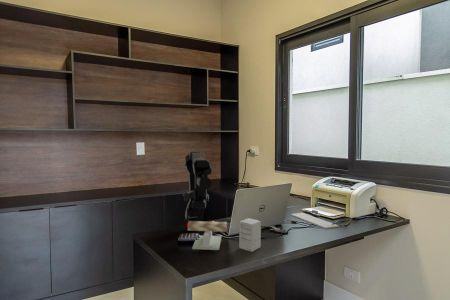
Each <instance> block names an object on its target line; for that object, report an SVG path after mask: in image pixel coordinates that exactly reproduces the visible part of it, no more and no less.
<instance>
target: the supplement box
mask: <svg viewBox="0 0 450 300" xmlns="http://www.w3.org/2000/svg"><path fill="white" fill-rule="evenodd" d="M261 235H262V227H261V221H259V220H258V219H253V218H249V217H248V218H245V219H243V220H240V221H239V235H238V236H239V237H238V238H239V240H238V242H239V243H238V245H239V247H238V248H239V249H241V250H244V251H248V252H251V253H252V252H254V251H256V250H258V249H260V248H261V244H262V243H261V238H262V237H261Z"/></svg>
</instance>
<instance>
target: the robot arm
mask: <svg viewBox="0 0 450 300" xmlns="http://www.w3.org/2000/svg"><path fill="white" fill-rule="evenodd" d="M183 161H184V162H183V164H184V167H185V171H186V172H187V174H188V187H189V188H188V191H187V192H184V193H183V194H182V199H183V200H184V202H186V201H187V202H188V203H187V205H186V209H185V214H184V217H185V218H184V219H185V220H188V221H187V222H188V223H189V221H202V219H203V216H204V213H205V210H206V208H207V205H208V203H209V199H210V195H209V194H208V191H207V190H209V189H210V188H211V186H212V183H213V182H212V179H210V177H208V176H211V175H212V166H211V163H210V161H209V160H208V159H207V158H203V157H202V155H201V154H200V151H198V150H197V151H196V150H195V151H192V150H191V151H190V152H189V153H188V154H187V155H186V156H185V157H184V160H183ZM188 223H187V224H188ZM186 232H189V231H188V227H187V229H186Z"/></svg>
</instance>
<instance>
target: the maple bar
mask: <svg viewBox="0 0 450 300" xmlns="http://www.w3.org/2000/svg"><path fill="white" fill-rule="evenodd" d="M227 224H228V222H227V221H202V220H201V221H189V223H187V225H188V226H187V228H188V231H187V232H205V231H212V232H227V231H228V230H227V228H228V227H227Z"/></svg>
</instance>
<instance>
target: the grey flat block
mask: <svg viewBox="0 0 450 300" xmlns="http://www.w3.org/2000/svg"><path fill="white" fill-rule="evenodd" d="M290 216H291V217H295V218H297V219H299V220H302V221H305V222H306V223H309V224H312V225H314V226H317V227H320V228H321V229H325V230H329V229H334V228H340V227H341V225H339V224H336V223H332V222H329V221H326V220H324V219H321V218H319V217H315V216H312V215H311V214H308V213H305V212H297V213H291V214H290Z"/></svg>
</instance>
